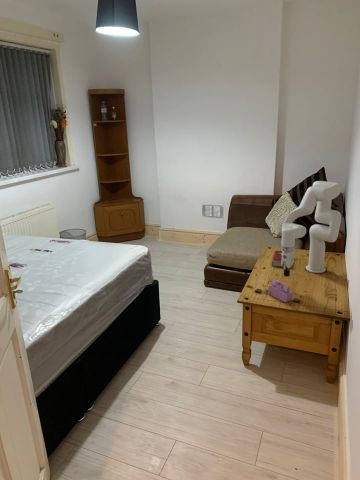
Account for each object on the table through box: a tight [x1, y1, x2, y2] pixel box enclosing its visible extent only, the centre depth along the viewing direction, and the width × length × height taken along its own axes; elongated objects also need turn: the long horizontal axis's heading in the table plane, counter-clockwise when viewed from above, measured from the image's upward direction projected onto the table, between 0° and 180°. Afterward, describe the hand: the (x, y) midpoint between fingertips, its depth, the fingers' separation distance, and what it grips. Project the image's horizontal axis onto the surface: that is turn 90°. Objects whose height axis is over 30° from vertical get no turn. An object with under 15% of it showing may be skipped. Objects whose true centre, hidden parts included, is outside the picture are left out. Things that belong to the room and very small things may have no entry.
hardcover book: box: [271, 249, 283, 268], centre depth 257 cm, size 12×21×4 cm, turn 162°
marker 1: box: [254, 288, 263, 294], centre depth 216 cm, size 3×3×1 cm
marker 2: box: [292, 297, 301, 304], centre depth 204 cm, size 3×3×1 cm
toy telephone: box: [264, 279, 294, 303], centre depth 209 cm, size 18×6×10 cm, turn 32°
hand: (286, 275), depth 218 cm, fingers closed
